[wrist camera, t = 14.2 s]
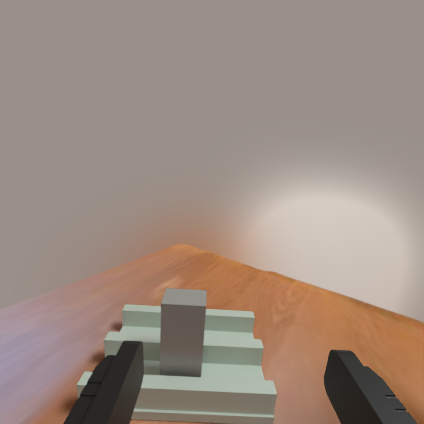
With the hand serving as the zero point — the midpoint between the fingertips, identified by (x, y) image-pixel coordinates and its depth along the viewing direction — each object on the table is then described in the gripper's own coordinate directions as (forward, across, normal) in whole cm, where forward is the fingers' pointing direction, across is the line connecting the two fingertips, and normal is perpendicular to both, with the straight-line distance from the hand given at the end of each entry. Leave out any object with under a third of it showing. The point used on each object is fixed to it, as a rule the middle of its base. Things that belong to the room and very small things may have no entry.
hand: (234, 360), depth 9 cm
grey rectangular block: (+14, +4, +19) cm, 24 cm away
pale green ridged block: (+17, +4, +21) cm, 27 cm away
